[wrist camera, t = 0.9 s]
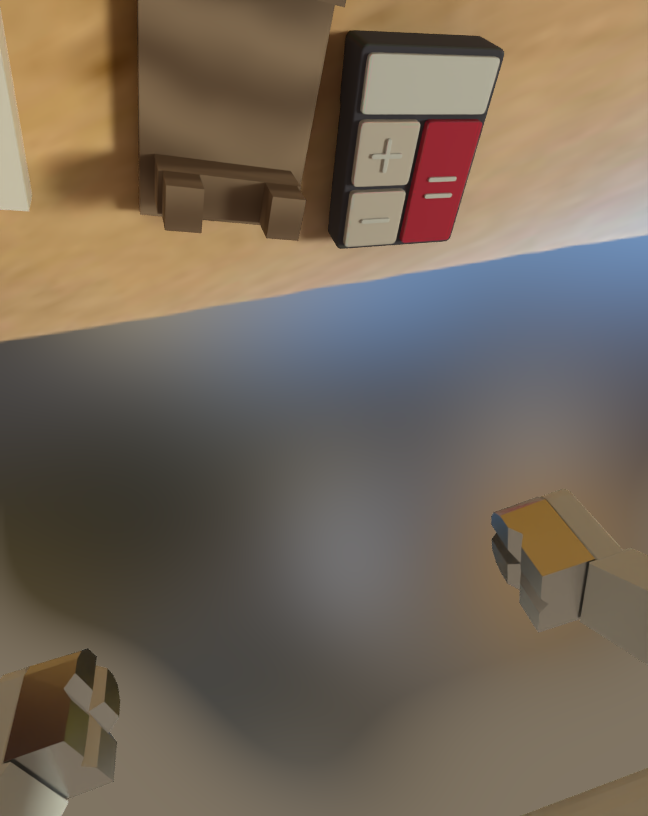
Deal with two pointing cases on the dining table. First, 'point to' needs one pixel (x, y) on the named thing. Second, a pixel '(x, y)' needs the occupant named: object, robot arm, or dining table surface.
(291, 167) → the rack
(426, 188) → the calculator
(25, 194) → the clay strip
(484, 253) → the dining table surface
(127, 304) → the dining table surface
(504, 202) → the dining table surface
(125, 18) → the dining table surface
